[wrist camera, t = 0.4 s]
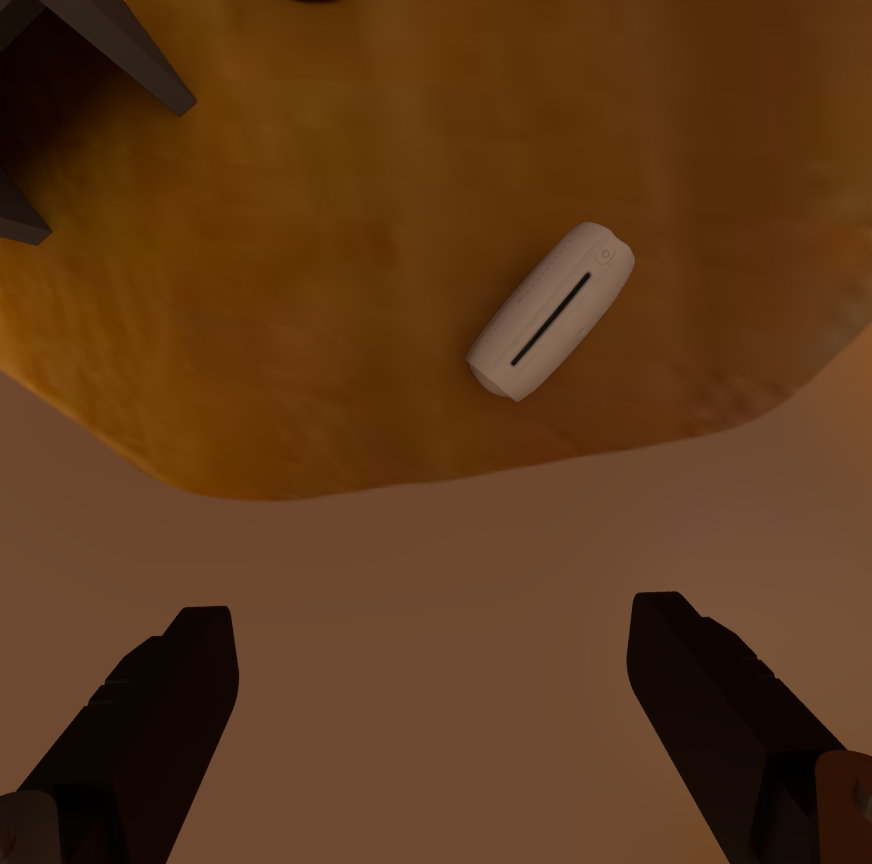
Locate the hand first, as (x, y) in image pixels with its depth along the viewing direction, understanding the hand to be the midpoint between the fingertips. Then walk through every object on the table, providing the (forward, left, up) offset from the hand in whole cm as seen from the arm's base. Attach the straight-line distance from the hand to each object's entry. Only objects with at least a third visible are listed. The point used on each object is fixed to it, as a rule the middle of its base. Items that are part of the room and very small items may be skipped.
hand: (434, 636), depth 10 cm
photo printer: (-8, +5, -28) cm, 29 cm away
